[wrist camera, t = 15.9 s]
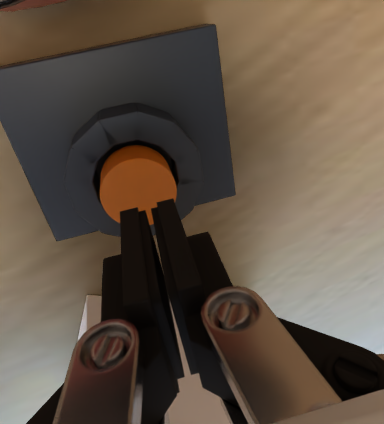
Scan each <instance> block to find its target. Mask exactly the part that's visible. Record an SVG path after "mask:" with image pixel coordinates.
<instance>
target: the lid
mask: <svg viewBox="0 0 384 424" xmlns="http://www.w3.org/2000/svg"><path fill="white" fill-rule="evenodd" d="M23 1H25V0H0V9H3V8H7V7H10V6H14V5H16V4H18V3H21V2H23Z"/></svg>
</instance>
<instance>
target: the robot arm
mask: <svg viewBox="0 0 384 424" xmlns="http://www.w3.org/2000/svg"><path fill="white" fill-rule="evenodd" d="M156 203H157V207H155V208H151V213H152V218H153V223H154V228H155V233H156V237H157V242H158V247H159V252H160V257H161V262H162V267H163V270H162V267H161V263H160V260H159V256H158V252H157V249H156V245H155V242H154V238H153V235H152V231H151V228H150V224H149V221H148V217H147V214H146V210H143V211H139V210H138V207H136V208H132V209H128V210H124V211H120V231H121V254H120V255H116V256H112V257H108V258H104V260H103V275H102V300H101V322H100V323H98V324H96V325H94V326H92V327H91V328H90V329H88V330H87V331H86V332H85V333H84V334H83V335H82V336H81V338H80V339H79V340H78V341H77V343H76V346H75V348H74V350H73V353H72V357H71V360H70V364H69V367H68V371H67V374H66V378H65V381H64V383H63V385H62V386H61V387H60V388H59V389H58V390H57V391H56V392H55V393H54V394H53V395H52V396H51V397H50V399H49V400H48V401H47V402H46V403H45V404H44V405H43V406H42V407H41V408H40V409H39V410H38V411H37V412H36V414H35V415H34V416H33V417H32V418H31V419H30V420H29V421H28V422H27V423H26V424H169V414H168V409H169V407H170V406H171V404H172V403H173V401H174V399H175V398H176V396H177V393H179V392H180V391H179V385H178V380H177V379H180V378H183V377H185V376H184V370H183V365H182V360H181V355H180V350H179V345H178V340H177V335H176V330H175V326H174V321H173V316H172V311H171V307H172V310H173V314H174V317H175V321H176V324H177V328H178V331H179V335H180V338H181V342H182V345H183V349H184V352H185V356H186V359H187V363H188V366H189V370H190V373H191V375H193V374H197V373H199V376H200V380H201V384H202V388H204V389H206V390H208V391H210V392H211V393H213V394H215V395H217V396H219V398H220V402H221V405H222V407H223V409H224V412H225V414H226V416H227V418H228V420H229V423H230V424H384V354H375V353H373V352H371V351H369V350H367V349H365V348H363V347H360V346H357V345H354V344H352V343H349V342H346V341H343V340H340V339H337V338H334V337H332V336H329V335H326V334H323V333H320V332H317V331H315V330H312V329H309V328H306V327H303V326H300V325H298V324H295V323H292V322H289V321H286V320H283V319H281V318H278V317H276V316H275V315H274V313H273V312H272V311H271V309H270V308H269V307H268V306H267V304H266V303H265V302H264V300H263V299H262V298H261V297H260V296H259V295H258V294H257V293H256V292H254V291H252V290H250V289H248V288H244V287H239V286H233V285H232V283H231V281H230V279H229V276H228V274H227V272H226V270H225V268H224V265H223V263H222V261H221V259H220V256H219V254H218V252H217V250H216V248H215V245H214V243H213V241H212V239H211V236H210V234H209V233H208V232H204V233H200V234H196V235H193V236H189V237H186V234H185V231H184V228H183V225H182V222H181V219H180V216H179V213H178V211H177V208H176V205H175V202H174V199H173V198H172V199H168V200H164V201H160V202H156ZM163 272H164V274H163ZM168 295H169V296H168ZM169 299H170V301H169ZM170 303H171V306H170Z"/></svg>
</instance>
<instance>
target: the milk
mask: <svg viewBox="0 0 384 424" xmlns="http://www.w3.org/2000/svg"><path fill="white" fill-rule="evenodd" d="M101 300H102V296H97V295H87V297H86V302H85V307H84V312H83V316H82V321H81V326H80V331H79V336H78V340H79V339H80V338H81V336H82V335H83V334H84V333H85V332H86V331H87V330H88V329H90V328H91V327H92V326H94V325H96V324H98V323H100V322H101ZM170 306H171V303H170ZM171 311H172V316H173V321H174V326H175V330H176V335H177V340H178V345H179V350H180V355H181V360H182V365H183V370H184V376H185V377H183V378H180V379H177V380H178V385H179V391H180V392H179V393H177V396H176V398H175V399H174V401H173V403H172V404H171V406H170V407H169V409H168V414H169V424H230V423H229V420H228V418H227V416H226V414H225V412H224V409H223V407H222V405H221V402H220V398H219V396H217V395H215V394H213V393H211V392H210V391H208V390H206V389H204V388H202V384H201V380H200V376H199V373H197V374H193V375H191V373H190V370H189V366H188V363H187V359H186V356H185V352H184V349H183V345H182V342H181V338H180V335H179V331H178V328H177V324H176V321H175V317H174V314H173V310H172V307H171ZM78 340H77V341H78Z"/></svg>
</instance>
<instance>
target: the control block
mask: <svg viewBox="0 0 384 424" xmlns="http://www.w3.org/2000/svg"><path fill="white" fill-rule="evenodd" d="M0 121H1V123H2V126H3V128H4V130H5V132H6V134H7V136H8V138H9V141H10V143H11V145H12V147H13V149H14V151H15V153H16V156H17V158H18V160H19V162H20V164H21V166H22V168H23V171H24V173H25V175H26V177H27V179H28V181H29V183H30V186H31V188H32V190H33V192H34V194H35V196H36V198H37V200H38V203H39V205H40V207H41V209H42V211H43V213H44V215H45V218H46V220H47V222H48V224H49V226H50V228H51V230H52V233H53V235H54V237H55V239H56V241H61V240H65V239H68V238H72V237H76V236H80V235H84V234H88V233H92V232H95V231H100V232H102V233H104V234H108V235H114V236H119V237H121V231H120V223H119V222H117V221H115V220H114V219H112V218H111V217H110V216H109V215H108V214H107V213H106V211H105V210H104V208H103V206H102V204H101V200H100V177H101V170H102V167H103V165H104V163H105V161H106V160H107V158H108V157H109V156H110V155H111V154H112V153H113V152H115V151H116V150H118V149H120V148H122V147H126V146H130V145H142V146H147V147H150V148H152V149H154V150H156V151H157V152H159V153H160V154H161V155H162V156H163V157H164V159H165V160H166V162H167V163H168V165H169V168H170V170H171V173H172V175H173V177H174V180H175V183H176V187H177V196H176V200H175V205H176V208H177V211H178V213H179V216H180V219H181V220H182V219H183V218H184V217H185V216H186V215H188V214H189V213H190V212H191V211H192V210H193V208H194V206H196V205H200V204H204V203H207V202H211V201H215V200H219V199H223V198H227V197H231V196H234V195H235V194H236V193H235V185H234V176H233V167H232V159H231V150H230V142H229V133H228V125H227V116H226V108H225V99H224V91H223V82H222V73H221V65H220V56H219V48H218V39H217V31H216V25H215V24H203V25H198V26H193V27H188V28H183V29H179V30H174V31H169V32H164V33H159V34H154V35H149V36H144V37H140V38H135V39H130V40H125V41H120V42H115V43H110V44H106V45H101V46H96V47H91V48H86V49H81V50H76V51H72V52H67V53H62V54H57V55H52V56H47V57H42V58H37V59H33V60H28V61H23V62H18V63H13V64H8V65H3V66H0ZM150 228H151V231H152V235H156V233H155V228H154V224H152V225H150Z"/></svg>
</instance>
